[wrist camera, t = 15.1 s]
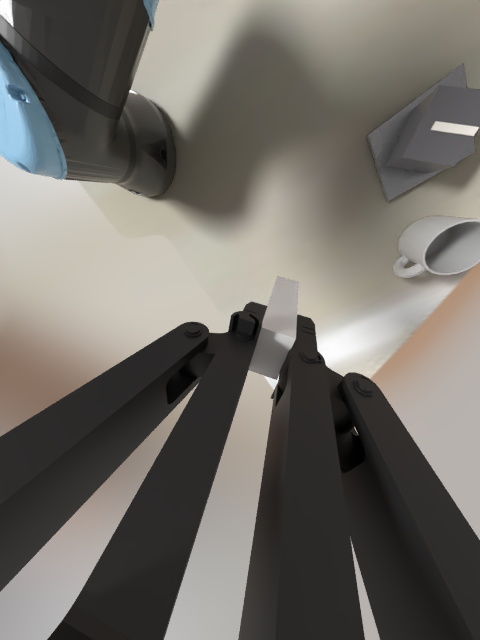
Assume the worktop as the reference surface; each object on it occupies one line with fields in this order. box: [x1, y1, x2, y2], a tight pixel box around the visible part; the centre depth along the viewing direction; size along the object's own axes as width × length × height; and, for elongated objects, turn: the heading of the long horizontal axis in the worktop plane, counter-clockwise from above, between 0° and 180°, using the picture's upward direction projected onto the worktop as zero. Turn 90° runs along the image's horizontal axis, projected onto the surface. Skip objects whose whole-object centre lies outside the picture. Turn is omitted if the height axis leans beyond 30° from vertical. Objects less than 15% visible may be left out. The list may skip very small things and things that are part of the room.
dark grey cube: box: [386, 85, 480, 173], centre depth 23 cm, size 6×6×6 cm
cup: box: [393, 216, 480, 278], centre depth 29 cm, size 7×10×9 cm
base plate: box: [367, 63, 476, 201], centre depth 25 cm, size 10×10×4 cm
